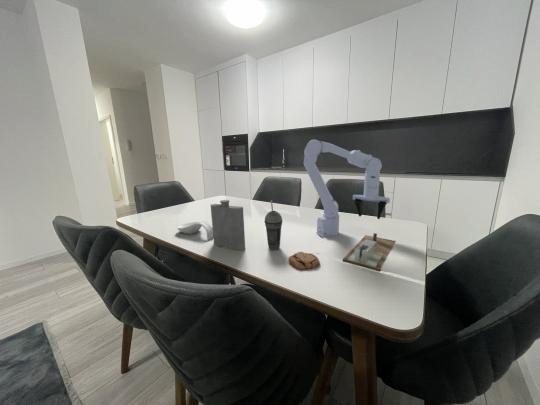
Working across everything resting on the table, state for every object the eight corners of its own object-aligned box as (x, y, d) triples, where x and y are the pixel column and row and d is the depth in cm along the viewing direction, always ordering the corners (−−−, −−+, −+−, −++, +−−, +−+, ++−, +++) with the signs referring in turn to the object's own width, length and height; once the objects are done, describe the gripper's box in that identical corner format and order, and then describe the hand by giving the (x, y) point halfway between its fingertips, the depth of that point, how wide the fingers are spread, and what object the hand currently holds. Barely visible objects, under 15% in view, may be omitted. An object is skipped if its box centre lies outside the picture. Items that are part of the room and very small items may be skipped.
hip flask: (246, 248, 91) (244, 200, 87) (241, 251, 88) (238, 202, 84) (217, 241, 99) (213, 197, 95) (210, 245, 96) (206, 199, 91)
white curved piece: (173, 233, 112) (171, 219, 111) (193, 227, 121) (192, 214, 120) (202, 243, 98) (200, 228, 97) (222, 235, 107) (221, 221, 106)
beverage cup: (270, 253, 86) (268, 203, 82) (262, 246, 92) (260, 199, 88) (286, 249, 89) (285, 200, 85) (277, 243, 96) (276, 197, 91)
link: (365, 249, 85) (365, 239, 84) (376, 251, 82) (377, 241, 81) (354, 259, 76) (355, 248, 76) (366, 263, 74) (367, 252, 73)
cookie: (322, 270, 73) (322, 261, 72) (290, 271, 73) (290, 263, 72) (315, 256, 83) (315, 249, 82) (287, 257, 83) (287, 250, 82)
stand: (380, 271, 71) (381, 254, 69) (342, 261, 78) (343, 245, 77) (395, 243, 92) (397, 229, 91) (365, 237, 99) (366, 224, 98)
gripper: (392, 186, 93) (389, 217, 96) (356, 184, 102) (355, 212, 105) (388, 188, 87) (386, 221, 90) (351, 186, 96) (350, 216, 99)
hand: (369, 217), depth 97 cm, fingers open, 7 cm apart
